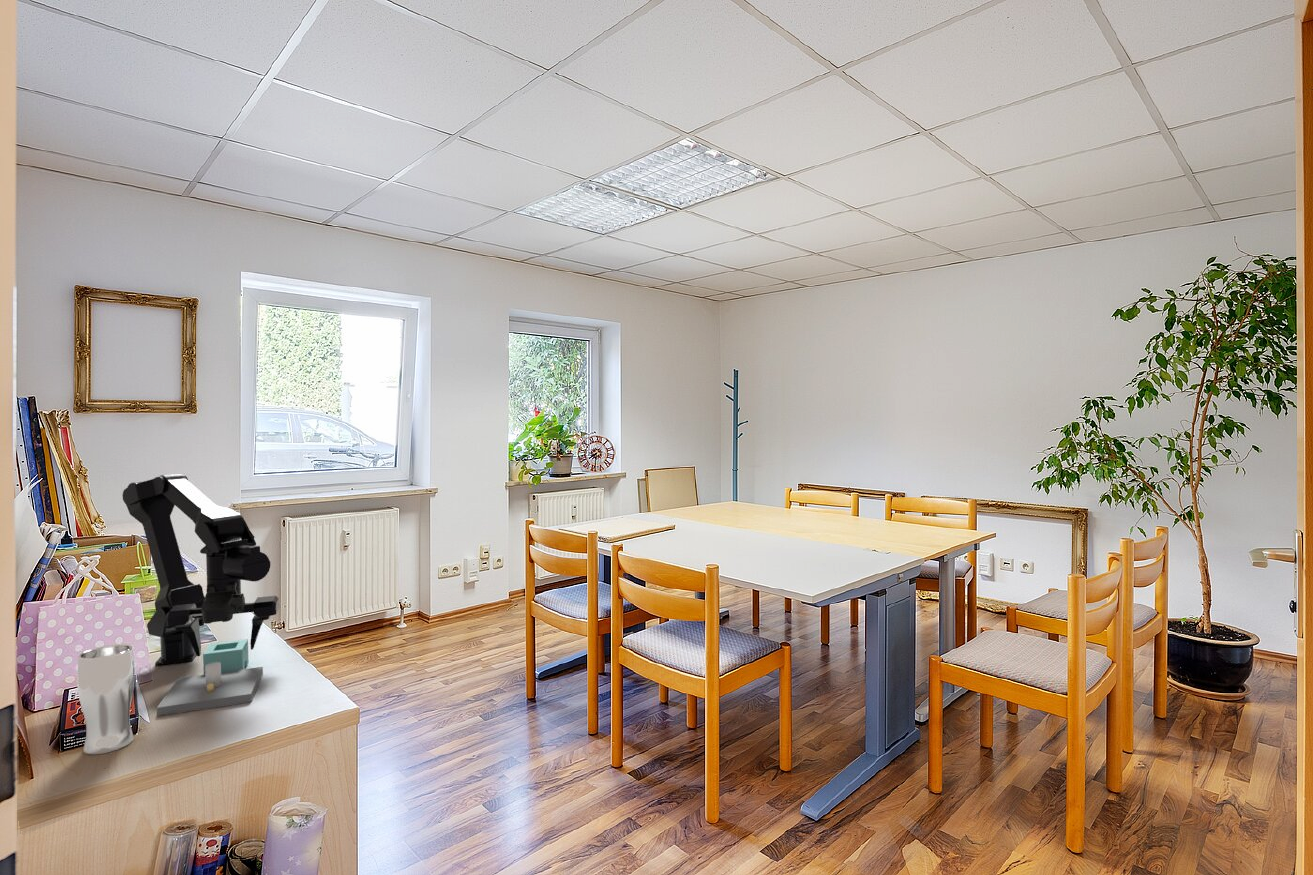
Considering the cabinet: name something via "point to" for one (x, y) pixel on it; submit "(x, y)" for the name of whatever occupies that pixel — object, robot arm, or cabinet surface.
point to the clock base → (211, 690)
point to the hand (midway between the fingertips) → (226, 652)
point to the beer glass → (106, 696)
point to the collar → (227, 655)
